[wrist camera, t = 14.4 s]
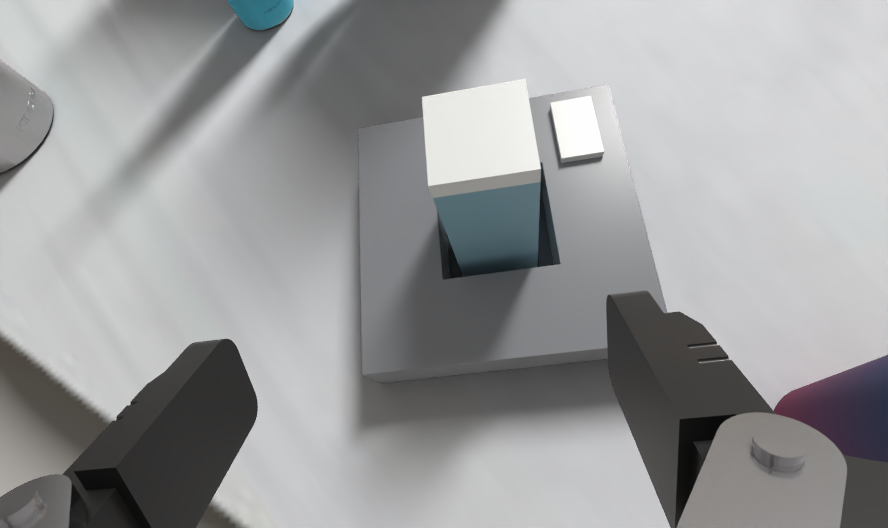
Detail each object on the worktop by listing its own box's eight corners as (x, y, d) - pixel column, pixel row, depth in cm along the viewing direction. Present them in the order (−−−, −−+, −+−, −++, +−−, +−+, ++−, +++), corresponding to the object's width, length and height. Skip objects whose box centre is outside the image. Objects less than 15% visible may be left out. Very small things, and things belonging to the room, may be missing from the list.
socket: (380, 383, 29) (358, 373, 26) (374, 157, 35) (355, 123, 31) (657, 353, 27) (677, 338, 24) (600, 119, 33) (609, 78, 29)
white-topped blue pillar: (465, 282, 31) (428, 186, 20) (459, 218, 32) (422, 96, 21) (537, 273, 30) (540, 168, 19) (527, 208, 32) (525, 78, 21)
